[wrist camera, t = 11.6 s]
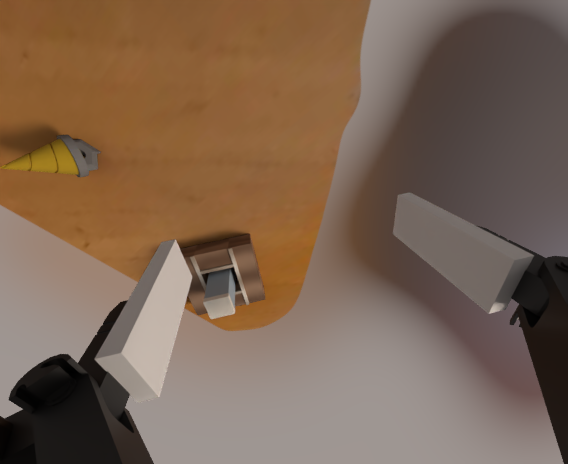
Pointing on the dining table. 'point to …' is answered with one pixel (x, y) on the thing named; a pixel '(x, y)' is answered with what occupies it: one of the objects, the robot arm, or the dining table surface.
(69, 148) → the yellow spinning top
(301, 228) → the dining table surface
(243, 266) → the socket block
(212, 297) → the peg
